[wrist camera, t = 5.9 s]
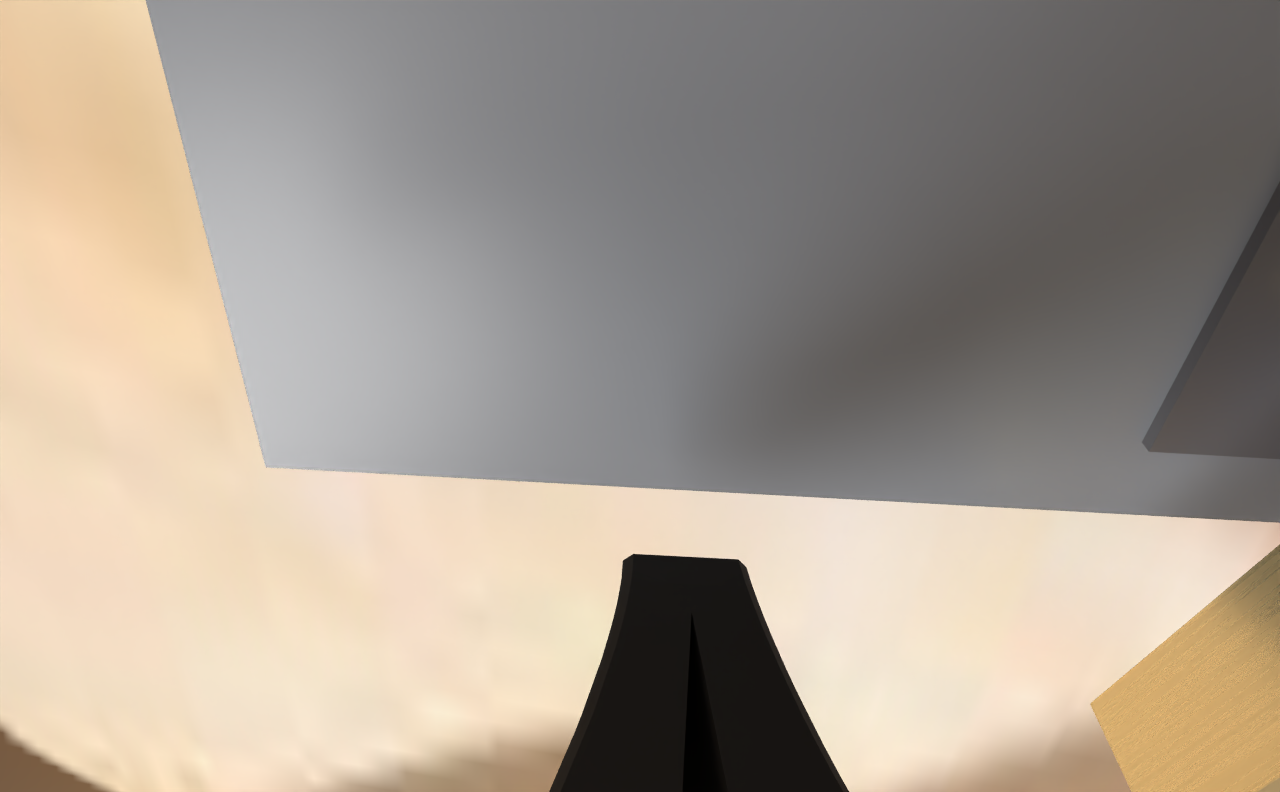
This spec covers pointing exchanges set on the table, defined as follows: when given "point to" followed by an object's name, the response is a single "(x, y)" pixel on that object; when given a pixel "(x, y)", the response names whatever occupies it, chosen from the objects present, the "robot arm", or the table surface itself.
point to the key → (1205, 698)
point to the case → (752, 242)
